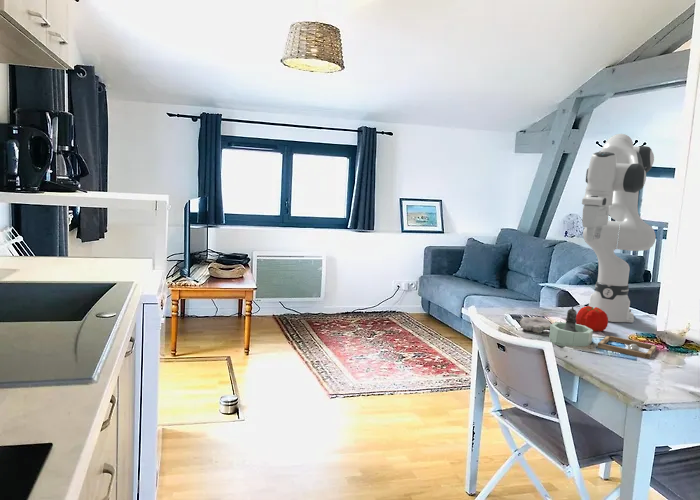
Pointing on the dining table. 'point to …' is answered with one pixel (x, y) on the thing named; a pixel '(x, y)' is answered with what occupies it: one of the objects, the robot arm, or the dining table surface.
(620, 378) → the dining table surface
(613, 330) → the dining table surface
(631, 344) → the pebble
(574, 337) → the bowl
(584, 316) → the tomato
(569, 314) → the chess piece
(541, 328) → the fossil
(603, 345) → the oak tray
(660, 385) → the dining table surface
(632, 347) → the pebble
